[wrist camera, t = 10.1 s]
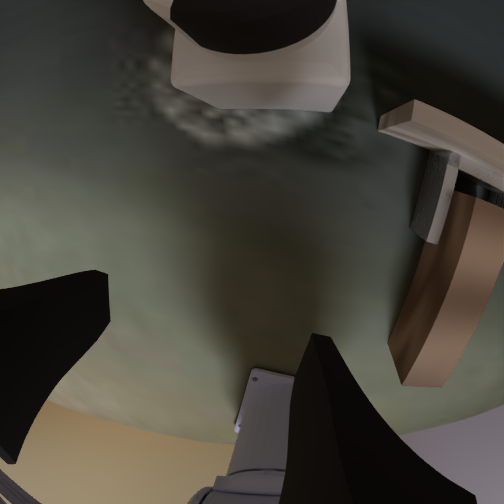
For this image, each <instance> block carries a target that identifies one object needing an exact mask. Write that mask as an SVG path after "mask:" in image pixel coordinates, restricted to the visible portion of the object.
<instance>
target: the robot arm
mask: <svg viewBox="0 0 504 504" xmlns="http://www.w3.org/2000/svg"><path fill="white" fill-rule="evenodd" d="M110 321H111V320H110V307H109V288H108V274H106V273H103V272H100V271H97V270H89V271H83V272H78V273H74V274H70V275H65V276H61V277H57V278H53V279H49V280H45V281H41V282H36V283H32V284H27V285H23V286H18V287H12V288H6V289H0V457H1V458H2V459H3V460H4V461H5V462H6V463H7V464H16V461H17V459H18V456H19V453H20V450H21V448H22V445H23V443H24V440H25V438H26V436H27V434H28V431H29V429H30V427H31V425H32V423H33V421H34V419H35V418H36V416H37V414H38V412H39V411H40V409H41V407H42V406H43V404H44V402H45V401H46V399H47V398H48V396H49V395H50V393H51V392H52V390H53V389H54V388H55V386H56V385H57V384H58V382H59V381H60V380H61V379H62V377H63V376H64V375H65V374H66V373H67V372H68V371H69V370H70V369H71V368H72V367H73V366H74V365H75V363H76V362H77V361H78V360H79V359H80V358H81V357H82V356H83V355H84V354H85V353H86V352H87V351H88V350H89V349H90V347H91V346H92V345H93V344H94V343H95V342H96V341H97V340H98V338H99V337H100V336H101V334H102V333H103V331H104V330H105V328H106V327H107V325H108V324H109V323H110ZM254 377H256V378H257V379H255V378H254ZM234 431H235V432H236V433H238V437H237V440H236V444H235V447H234V451H233V454H232V458H231V461H230V464H229V468H228V471H227V475H226V476H217V477H216V480H215V483H214V486H213V487H204V488H202V489H201V490H199V491H198V492H197V493H196V494H195V495H194V496H193V497H192V498H191V499H190V500H189V502H188V503H187V504H477V501H476V497H475V495H474V494H472V493H470V492H469V491H467V490H465V489H464V488H462V487H460V486H459V485H457V484H455V483H454V482H452V481H450V480H449V479H447V478H446V477H444V476H443V475H442V474H440V473H439V472H438V471H436V470H435V469H434V468H433V467H431V466H430V465H429V464H427V463H426V462H425V461H424V460H423V459H422V458H420V457H419V456H418V455H417V454H416V453H415V452H414V451H413V450H412V449H411V448H410V447H409V446H408V445H406V444H405V443H404V442H403V441H402V440H401V439H400V437H399V436H398V435H397V434H396V433H395V432H394V431H393V430H392V429H391V428H390V426H389V425H388V424H387V423H386V422H385V420H384V419H383V418H382V417H381V416H380V414H379V413H378V412H377V411H376V409H375V408H374V407H373V405H372V404H371V402H370V401H369V400H368V398H367V397H366V395H365V394H364V392H363V391H362V389H361V388H360V386H359V385H358V383H357V382H356V380H355V379H354V377H353V375H352V374H351V372H350V370H349V369H348V367H347V365H346V363H345V362H344V360H343V358H342V356H341V355H340V353H339V351H338V349H337V347H336V346H335V344H334V342H333V340H332V339H331V337H329V336H324V335H319V334H315V333H312V335H311V337H310V340H309V342H308V345H307V348H306V350H305V353H304V355H303V358H302V360H301V363H300V365H299V368H298V370H297V373H296V375H295V377H294V376H289V375H284V374H280V373H276V372H271V371H267V370H263V369H259V368H254V369H252V371H251V373H250V377H249V381H248V384H247V388H246V391H245V394H244V398H243V401H242V405H241V408H240V411H239V415H238V418H237V422H236V425H235V428H234ZM0 493H1V494H2V495H3V496H4V497H5V498H6V499H7V500H8V501H9V502H11V503H12V504H41V503H40V502H38V501H37V500H36V499H34V498H33V497H32V496H30V495H29V494H28V493H27V492H25V491H24V490H23V489H22V488H21V487H20V486H18V485H17V484H16V483H15V482H14V481H13V480H11V479H10V478H9V477H8V476H7V475H6V474H5V473H4V472H2V470H1V469H0ZM0 504H6V503H5V502H4V500H3V499H2V498H1V497H0Z"/></svg>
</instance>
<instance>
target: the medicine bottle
mask: <svg viewBox="0 0 504 504" xmlns="http://www.w3.org/2000/svg"><path fill="white" fill-rule="evenodd" d="M143 1H144V3H145V4H146V5H147V6H148V7H149V8H150V9H151V10H153V11H154V12H155V13H156V14H158V15H159V16H160V17H161V18H163V19H164V20H165V21H166V22H168V23H169V24H170V25H171V26H173V27H174V28H175V35H174V45H173V55H172V68H171V84H172V85H173V86H174V87H175V88H177V89H179V90H181V91H183V92H185V93H187V94H190V95H192V96H194V97H196V98H198V99H200V100H202V101H204V102H206V103H208V104H210V105H212V106H214V107H216V108H218V109H286V110H305V111H319V112H331V111H333V110H334V108H335V106H336V105H337V103H338V101H339V100H340V98H341V97H342V95H343V93H344V92H345V90H346V89H347V87H348V85H349V83H350V49H349V30H348V16H347V5H346V0H143Z"/></svg>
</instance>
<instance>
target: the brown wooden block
mask: <svg viewBox="0 0 504 504" xmlns="http://www.w3.org/2000/svg"><path fill="white" fill-rule="evenodd" d="M503 260H504V209H503V208H501V207H498V206H496V205H494V204H491V203H489V202H486V201H484V200H482V199H479V198H476V197H473V196H470V195H467V194H464V193H461V192H458V191H453V195H452V198H451V202H450V206H449V209H448V213H447V216H446V220H445V223H444V226H443V229H442V233H441V236H440V239H439V242H438V245H436V244H433V243H430V242H427V241H425V244H424V247H423V250H422V253H421V257H420V260H419V263H418V266H417V269H416V272H415V275H414V278H413V281H412V284H411V286H410V289H409V292H408V295H407V297H406V300H405V302H404V305H403V308H402V310H401V313H400V315H399V318H398V320H397V322H396V325H395V327H394V329H393V332H392V334H391V336H390V339H389V341H388V346H389V349H390V352H391V355H392V357H393V360H394V363H395V366H396V370H397V373H398V376H399V379H400V382H401V385H402V386H419V387H442V386H443V385H444V383H445V382H446V380H447V378H448V377H449V375H450V374H451V372H452V370H453V369H454V367H455V365H456V364H457V362H458V360H459V358H460V357H461V355H462V353H463V351H464V349H465V348H466V346H467V344H468V342H469V340H470V338H471V336H472V334H473V332H474V330H475V328H476V326H477V324H478V322H479V320H480V318H481V316H482V313H483V311H484V309H485V307H486V304H487V302H488V300H489V297H490V295H491V293H492V290H493V288H494V285H495V282H496V280H497V277H498V274H499V272H500V269H501V266H502V263H503Z"/></svg>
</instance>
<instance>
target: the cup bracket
mask: <svg viewBox="0 0 504 504" xmlns="http://www.w3.org/2000/svg"><path fill="white" fill-rule="evenodd" d="M457 175H459V176H461V177H464V178H466V179H468V180H470V181H472V182H474V183H476V184H478V185H480V186H482V187H484V188H486V189H488V190H490V195H489V199H488V202H489V203H491V204H494V205H496V206H498V207H501V208H503V209H504V178H503V177H502V176H500V175H498V174H496V173H495V172H493V171H491V170H489V169H487V168H485V167H483V166H482V165H480V164H478V163H476V162H474V161H472V160H470V159H468V158H466V157H464V156H462V155H460V154H457V153H455V152H453V151H451V150H429V155H428V159H427V164H426V168H425V173H424V177H423V181H422V185H421V189H420V193H419V197H418V200H417V204H416V208H415V211H414V215H413V218H412V221H411V225H410V229H411V230H412V231H414V232H415V233H416V234H418V235H419V236H420V237H421V238H423V239H424V240H425V241H427V242H430V243H433V244H436V245H438V242H439V239H440V236H441V233H442V229H443V226H444V223H445V220H446V216H447V213H448V209H449V206H450V202H451V198H452V195H453V191H454V187H455V183H456V178H457ZM503 262H504V260H503ZM502 264H503V263H502ZM501 267H502V266H501Z"/></svg>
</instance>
